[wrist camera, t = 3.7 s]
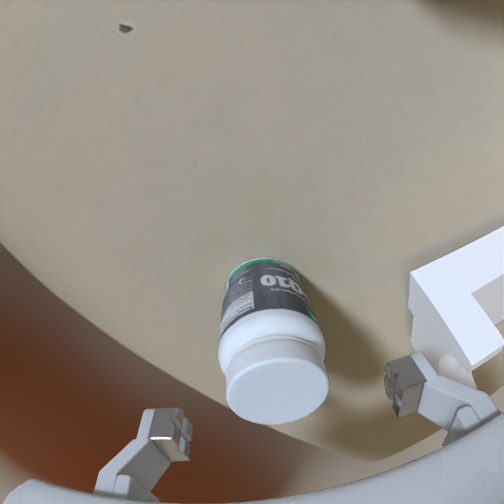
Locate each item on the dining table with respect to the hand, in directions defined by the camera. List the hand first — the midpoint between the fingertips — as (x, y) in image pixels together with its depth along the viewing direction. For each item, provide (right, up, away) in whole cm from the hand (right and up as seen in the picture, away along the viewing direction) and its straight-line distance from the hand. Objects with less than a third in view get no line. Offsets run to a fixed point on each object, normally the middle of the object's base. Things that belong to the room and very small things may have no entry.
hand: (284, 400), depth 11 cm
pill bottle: (-1, +3, +8) cm, 9 cm away
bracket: (+16, +3, +9) cm, 19 cm away
